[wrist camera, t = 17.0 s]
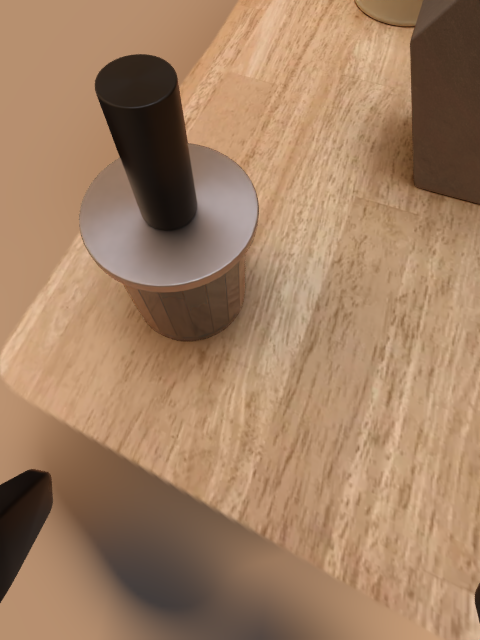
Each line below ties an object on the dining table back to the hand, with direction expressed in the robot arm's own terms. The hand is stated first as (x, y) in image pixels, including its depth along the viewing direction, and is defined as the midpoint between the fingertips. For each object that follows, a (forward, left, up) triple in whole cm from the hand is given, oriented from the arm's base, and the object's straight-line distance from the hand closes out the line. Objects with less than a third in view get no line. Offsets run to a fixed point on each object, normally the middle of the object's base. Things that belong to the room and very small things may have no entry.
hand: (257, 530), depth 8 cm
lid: (+8, +10, -6) cm, 14 cm away
